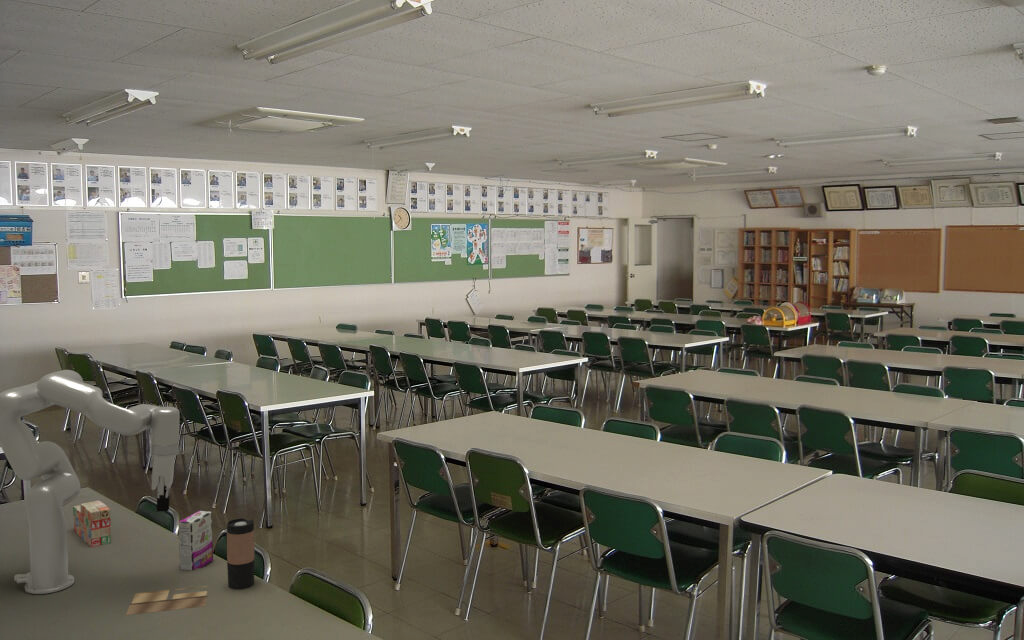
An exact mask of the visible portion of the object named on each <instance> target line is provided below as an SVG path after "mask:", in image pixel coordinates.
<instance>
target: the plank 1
mask: <svg viewBox="0 0 1024 640" xmlns="http://www.w3.org/2000/svg"><path fill="white" fill-rule="evenodd" d="M169 593H170V589H163V590H155V591H147V592H137V593H136V592H135V593H134V596H133V599H132V601H131V603H130V604H134V603H143V602H152V601H162V600H168V596H169Z"/></svg>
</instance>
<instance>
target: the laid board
mask: <svg viewBox="0 0 1024 640" xmlns="http://www.w3.org/2000/svg"><path fill="white" fill-rule="evenodd" d="M207 598H208V595H206V596H198V597H189V598H180V599H167V600H161V601H152V602H142V603H133V604H131V603H129V606H128V608H127V611H126V613H125V615H126V616H129V615H138V614H146V613H157V612H165V611H173V610H183V609H193V608H202V607H206V605H207Z"/></svg>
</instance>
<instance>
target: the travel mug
mask: <svg viewBox="0 0 1024 640" xmlns="http://www.w3.org/2000/svg"><path fill="white" fill-rule="evenodd" d="M254 523H255V522H254V519H249V520H247V519H246V518H242V517H241V518H240V517H239V518H234V519H231V520H229V521H227V523H226V539H227V540H226V558H227V559H226V564H227V567H226V569H227V585H228V588H229V589H231V590H245V589H248V588H251V587H253V585H254V584H255V556H256V555H255V524H254Z"/></svg>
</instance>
